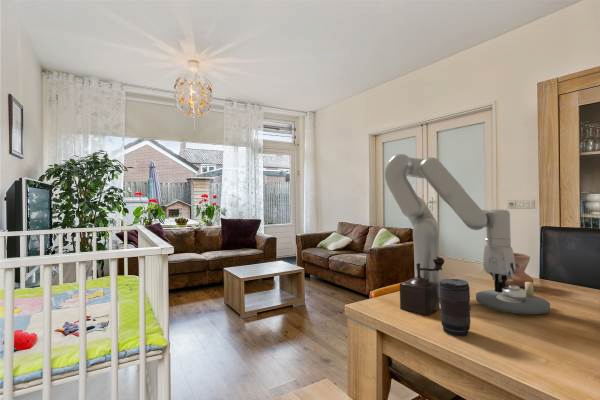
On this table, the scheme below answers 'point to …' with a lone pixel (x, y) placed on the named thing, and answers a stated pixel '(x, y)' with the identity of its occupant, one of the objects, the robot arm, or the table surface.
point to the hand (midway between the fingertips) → (500, 291)
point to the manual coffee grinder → (421, 292)
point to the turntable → (529, 307)
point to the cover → (514, 293)
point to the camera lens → (455, 306)
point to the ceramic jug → (520, 271)
